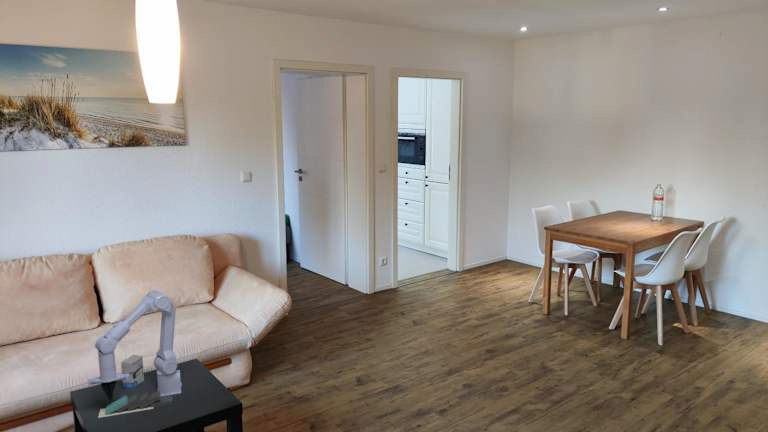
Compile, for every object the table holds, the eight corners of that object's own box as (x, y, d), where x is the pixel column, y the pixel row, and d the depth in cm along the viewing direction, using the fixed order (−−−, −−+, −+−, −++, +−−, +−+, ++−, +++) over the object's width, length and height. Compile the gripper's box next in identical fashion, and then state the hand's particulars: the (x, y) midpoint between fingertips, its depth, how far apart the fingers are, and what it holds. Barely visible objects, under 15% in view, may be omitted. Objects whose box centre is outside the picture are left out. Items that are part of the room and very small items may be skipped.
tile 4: (141, 403, 228) (160, 393, 230) (140, 409, 224) (160, 398, 226) (139, 400, 228) (158, 390, 230) (138, 406, 223) (158, 395, 225)
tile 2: (119, 407, 226) (139, 396, 227) (118, 413, 221) (138, 402, 223) (117, 404, 225) (136, 393, 227) (116, 409, 220) (136, 399, 222)
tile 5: (151, 401, 230) (172, 398, 232) (151, 407, 225) (172, 404, 228) (151, 398, 229) (172, 395, 232) (151, 403, 225) (172, 400, 227)
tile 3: (130, 405, 227) (149, 395, 229) (129, 411, 222) (149, 400, 224) (128, 402, 226) (147, 392, 228) (127, 408, 222) (147, 397, 224)
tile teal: (108, 408, 224) (128, 398, 226) (107, 414, 219) (127, 404, 221) (106, 405, 224) (126, 395, 226) (105, 411, 219) (124, 400, 221)
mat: (154, 400, 231) (154, 400, 231) (153, 408, 224) (153, 408, 224) (100, 409, 224) (100, 409, 224) (98, 418, 218) (98, 417, 217)
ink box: (132, 389, 241) (130, 363, 239) (122, 388, 242) (120, 362, 240) (144, 380, 250) (142, 355, 248) (134, 379, 250) (132, 354, 249)
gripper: (128, 359, 225) (131, 391, 228) (88, 365, 220) (91, 397, 223) (127, 366, 219) (130, 399, 221) (85, 372, 214) (89, 405, 216)
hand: (110, 399), depth 221 cm, fingers closed
